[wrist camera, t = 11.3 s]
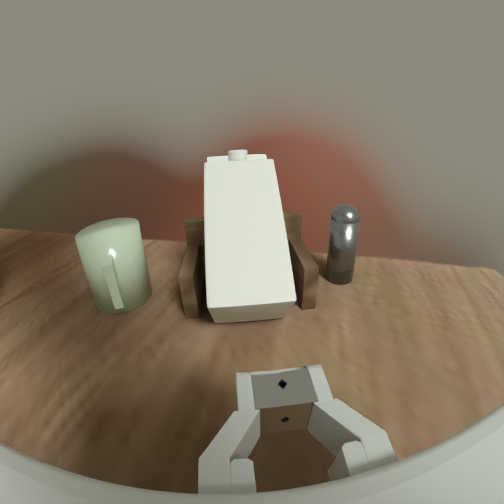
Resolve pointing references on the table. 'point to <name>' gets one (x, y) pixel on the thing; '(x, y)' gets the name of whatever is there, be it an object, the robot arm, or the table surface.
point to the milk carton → (245, 240)
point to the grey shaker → (342, 244)
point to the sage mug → (115, 264)
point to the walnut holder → (195, 273)
